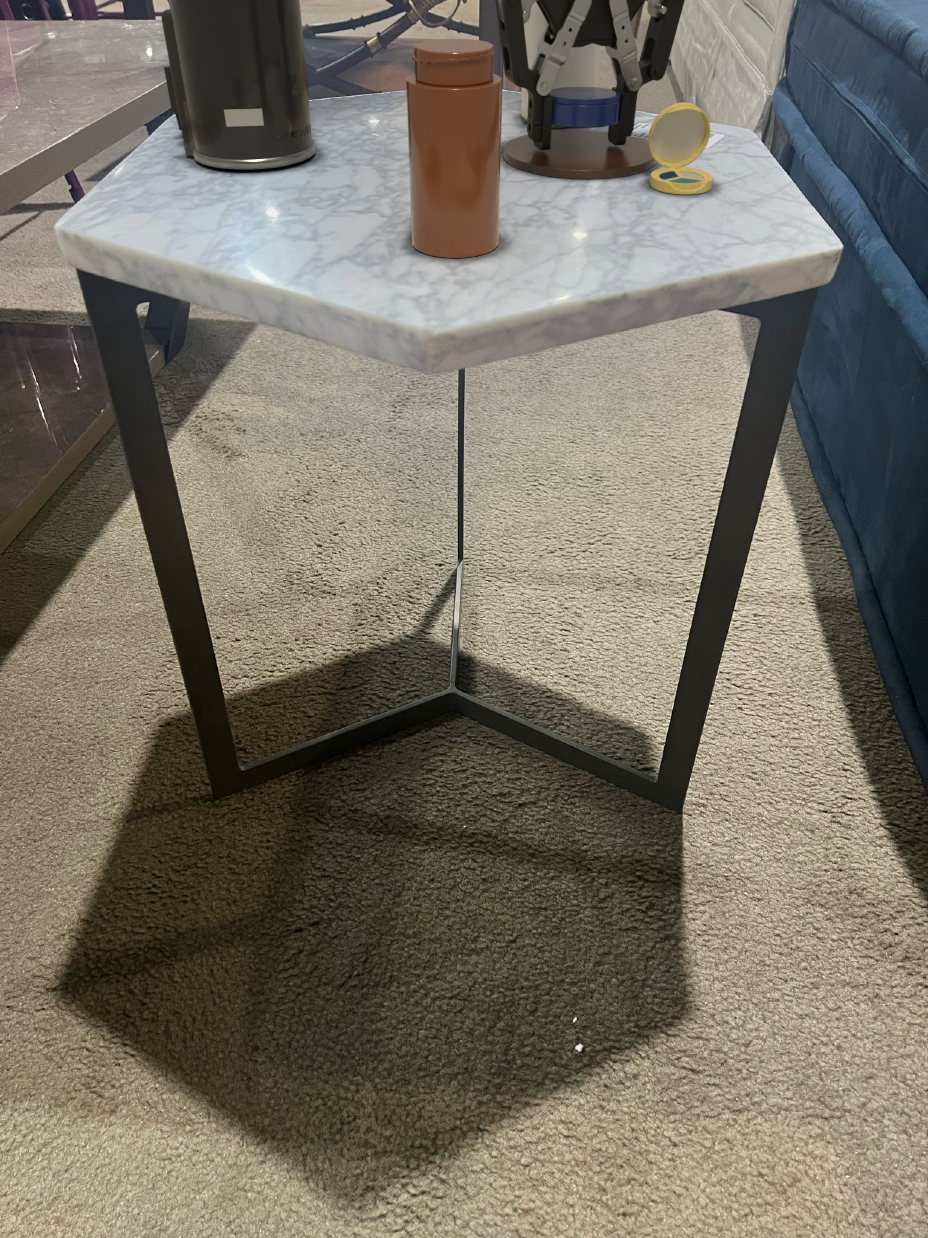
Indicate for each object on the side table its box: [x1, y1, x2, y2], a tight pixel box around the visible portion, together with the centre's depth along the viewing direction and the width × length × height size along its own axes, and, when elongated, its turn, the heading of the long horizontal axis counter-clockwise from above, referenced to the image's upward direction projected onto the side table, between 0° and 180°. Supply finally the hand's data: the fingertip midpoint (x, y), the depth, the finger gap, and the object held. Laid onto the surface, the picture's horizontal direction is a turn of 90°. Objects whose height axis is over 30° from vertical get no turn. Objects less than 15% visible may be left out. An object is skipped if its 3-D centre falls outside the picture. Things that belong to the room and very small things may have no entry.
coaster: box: [502, 129, 657, 180], centre depth 73 cm, size 12×12×1 cm
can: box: [520, 2, 601, 129], centre depth 78 cm, size 6×6×12 cm
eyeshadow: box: [648, 101, 714, 195], centre depth 66 cm, size 4×5×5 cm
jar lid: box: [550, 86, 621, 129], centre depth 71 cm, size 6×6×2 cm
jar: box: [405, 38, 503, 259], centre depth 54 cm, size 5×5×11 cm
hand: (579, 143), depth 72 cm, fingers closed on jar lid, 5 cm apart
